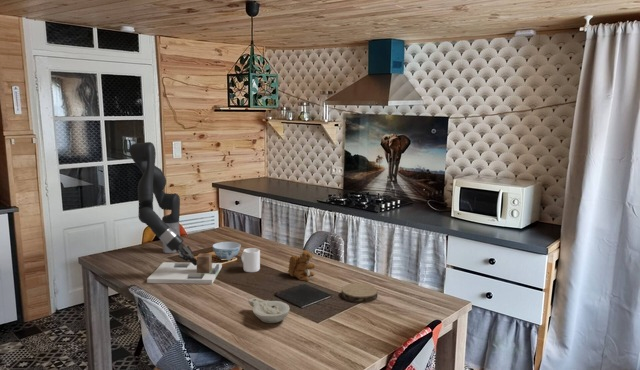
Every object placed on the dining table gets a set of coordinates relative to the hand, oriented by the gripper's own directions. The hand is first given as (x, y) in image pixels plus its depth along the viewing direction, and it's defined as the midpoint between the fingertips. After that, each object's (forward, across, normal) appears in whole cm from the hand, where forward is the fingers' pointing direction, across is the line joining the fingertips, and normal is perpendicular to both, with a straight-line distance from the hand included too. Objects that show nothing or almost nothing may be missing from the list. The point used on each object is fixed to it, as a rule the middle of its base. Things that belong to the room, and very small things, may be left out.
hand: (197, 264), depth 233 cm
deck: (0, 0, +8) cm, 8 cm away
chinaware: (+11, +26, -3) cm, 28 cm away
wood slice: (+59, -24, -50) cm, 81 cm away
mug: (+21, +10, -13) cm, 27 cm away
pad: (+8, 0, -1) cm, 8 cm away
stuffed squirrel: (+40, 0, -32) cm, 51 cm away
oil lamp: (+31, -48, -23) cm, 61 cm away
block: (+5, 0, 0) cm, 5 cm away
